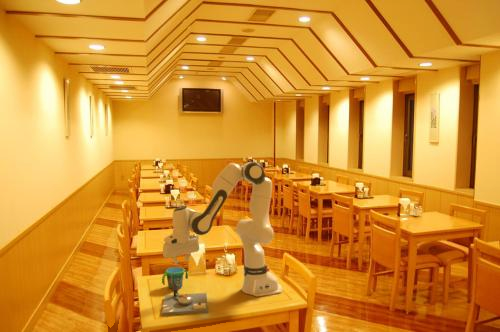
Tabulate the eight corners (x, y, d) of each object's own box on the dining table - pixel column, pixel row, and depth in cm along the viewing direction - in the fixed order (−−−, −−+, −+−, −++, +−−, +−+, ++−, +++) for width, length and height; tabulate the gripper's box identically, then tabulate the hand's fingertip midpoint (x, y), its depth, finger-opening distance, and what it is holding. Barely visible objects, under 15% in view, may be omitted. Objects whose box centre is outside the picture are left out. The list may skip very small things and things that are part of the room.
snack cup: (184, 281, 238) (183, 264, 237) (191, 287, 230) (191, 270, 229) (158, 287, 230) (158, 270, 229) (165, 293, 221) (165, 275, 220)
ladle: (195, 303, 205) (194, 291, 205) (182, 306, 201) (182, 294, 200) (180, 293, 217) (180, 282, 216) (168, 296, 213) (168, 285, 212)
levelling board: (206, 295, 218) (206, 288, 218) (208, 313, 199) (207, 304, 198) (163, 298, 215) (163, 290, 215) (161, 316, 195) (160, 307, 195)
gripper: (195, 232, 222) (195, 257, 224) (161, 239, 210) (161, 265, 211) (201, 235, 217) (201, 260, 219) (166, 241, 205) (167, 268, 206)
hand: (181, 262), depth 215 cm, fingers open, 5 cm apart
